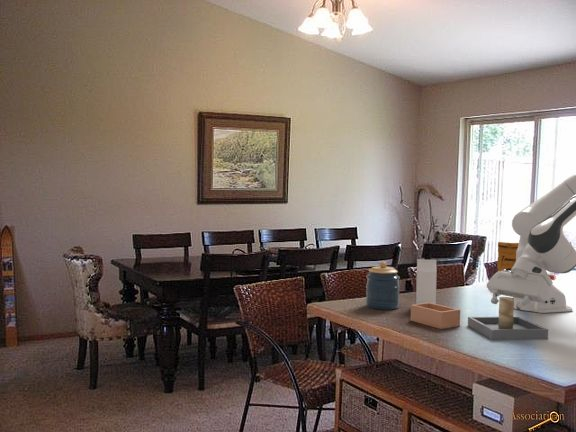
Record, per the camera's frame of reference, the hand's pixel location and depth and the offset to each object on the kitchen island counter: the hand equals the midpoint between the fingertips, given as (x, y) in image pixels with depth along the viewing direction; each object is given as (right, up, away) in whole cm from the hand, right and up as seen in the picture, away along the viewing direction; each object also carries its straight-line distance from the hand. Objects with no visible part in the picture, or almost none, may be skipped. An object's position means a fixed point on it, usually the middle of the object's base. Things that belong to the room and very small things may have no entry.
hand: (505, 305), depth 182 cm
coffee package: (+35, -6, +87) cm, 94 cm away
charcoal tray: (0, -9, 0) cm, 9 cm away
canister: (-33, -7, +38) cm, 51 cm away
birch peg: (0, -8, 0) cm, 8 cm away
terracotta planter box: (-20, -8, +12) cm, 24 cm away
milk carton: (-17, -7, +36) cm, 40 cm away
